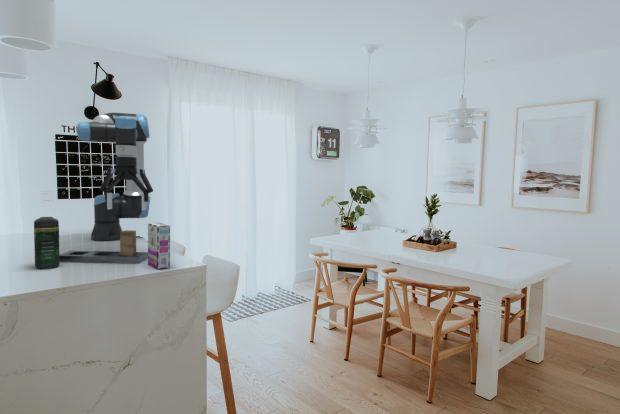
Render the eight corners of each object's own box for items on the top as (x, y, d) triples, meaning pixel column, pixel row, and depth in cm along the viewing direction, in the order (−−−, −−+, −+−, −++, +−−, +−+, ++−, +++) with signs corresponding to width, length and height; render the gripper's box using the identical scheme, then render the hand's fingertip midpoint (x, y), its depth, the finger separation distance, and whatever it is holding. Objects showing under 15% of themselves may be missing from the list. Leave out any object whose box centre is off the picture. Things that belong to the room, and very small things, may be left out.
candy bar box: (170, 268, 155) (170, 225, 153) (157, 269, 152) (157, 226, 150) (160, 262, 163) (159, 222, 162) (147, 264, 160) (147, 222, 159)
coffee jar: (60, 267, 151) (59, 218, 149) (34, 270, 146) (33, 219, 145) (59, 262, 159) (58, 215, 157) (35, 264, 154) (33, 216, 153)
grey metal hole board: (70, 256, 169) (70, 250, 169) (148, 258, 170) (148, 252, 170) (56, 261, 159) (56, 255, 159) (138, 263, 160) (138, 257, 160)
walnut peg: (125, 259, 167) (124, 230, 166) (136, 259, 167) (136, 230, 166) (120, 261, 163) (120, 232, 162) (131, 261, 163) (131, 232, 162)
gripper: (89, 155, 158) (90, 209, 160) (154, 157, 158) (154, 211, 160) (99, 155, 165) (100, 207, 167) (161, 157, 166) (161, 209, 168)
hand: (126, 209), depth 164 cm, fingers open, 13 cm apart
